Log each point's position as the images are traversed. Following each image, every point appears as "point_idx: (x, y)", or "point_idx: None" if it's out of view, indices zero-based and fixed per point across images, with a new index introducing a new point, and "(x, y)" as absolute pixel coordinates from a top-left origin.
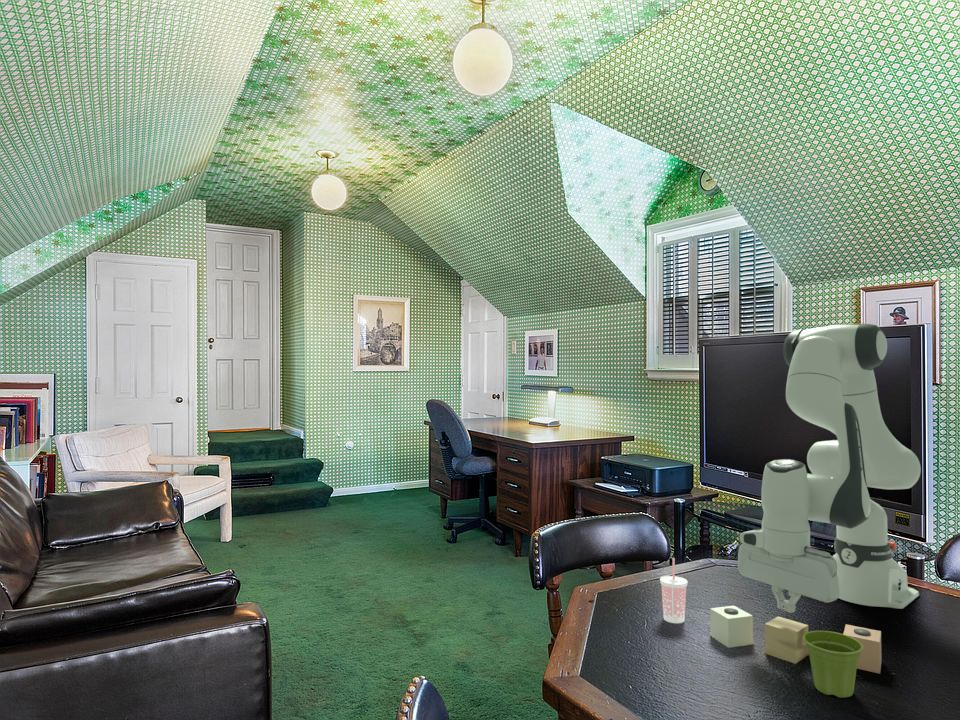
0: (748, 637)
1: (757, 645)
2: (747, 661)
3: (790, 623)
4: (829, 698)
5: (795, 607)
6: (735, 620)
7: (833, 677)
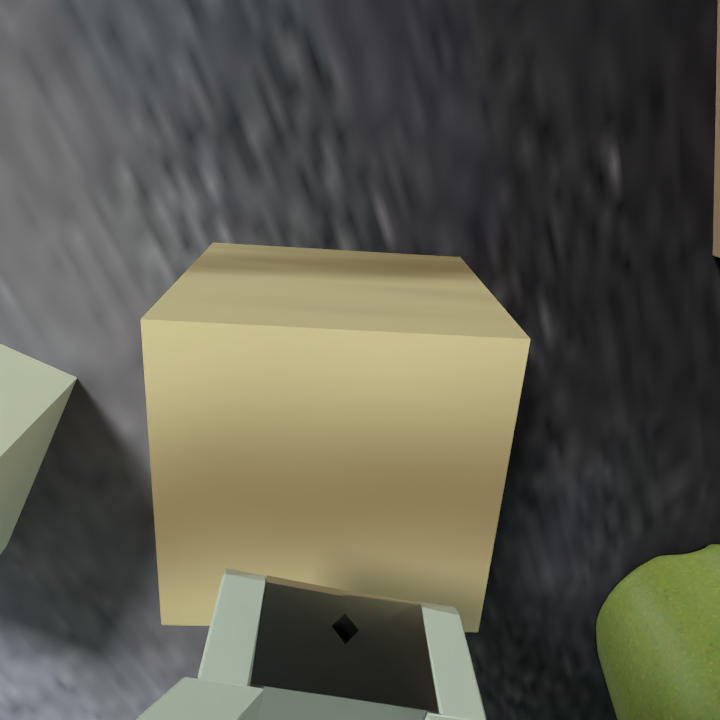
0: (36, 440)
1: (110, 373)
2: (202, 629)
3: (350, 433)
4: None
5: (466, 644)
6: None
7: None
